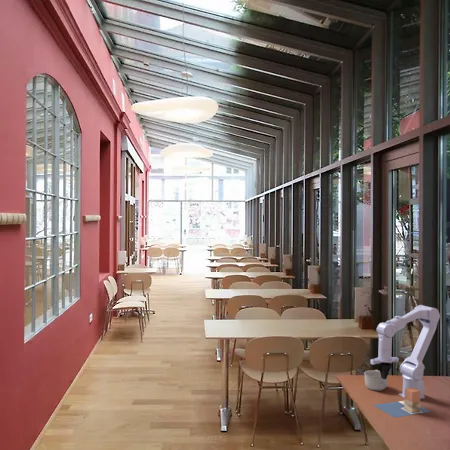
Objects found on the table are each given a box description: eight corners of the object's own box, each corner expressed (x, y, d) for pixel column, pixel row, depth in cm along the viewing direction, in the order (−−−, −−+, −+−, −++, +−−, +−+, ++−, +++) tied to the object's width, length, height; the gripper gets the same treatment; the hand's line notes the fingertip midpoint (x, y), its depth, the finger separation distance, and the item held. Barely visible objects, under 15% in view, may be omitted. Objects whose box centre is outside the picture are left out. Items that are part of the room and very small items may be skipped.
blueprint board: (408, 401, 223) (408, 399, 223) (431, 413, 210) (431, 411, 210) (372, 406, 216) (372, 404, 216) (394, 418, 203) (394, 416, 203)
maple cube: (412, 407, 214) (412, 397, 214) (419, 411, 210) (420, 401, 210) (404, 408, 212) (404, 398, 212) (411, 412, 208) (411, 402, 208)
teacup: (383, 394, 231) (384, 378, 231) (361, 389, 237) (361, 373, 236) (390, 386, 243) (391, 370, 243) (368, 382, 248) (369, 366, 248)
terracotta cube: (412, 397, 214) (413, 387, 214) (420, 401, 210) (420, 391, 210) (404, 398, 212) (405, 388, 212) (412, 402, 208) (412, 392, 208)
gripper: (377, 352, 216) (376, 382, 216) (403, 350, 221) (402, 379, 221) (367, 348, 223) (366, 377, 223) (393, 346, 228) (392, 375, 228)
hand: (383, 378), depth 223 cm, fingers closed
